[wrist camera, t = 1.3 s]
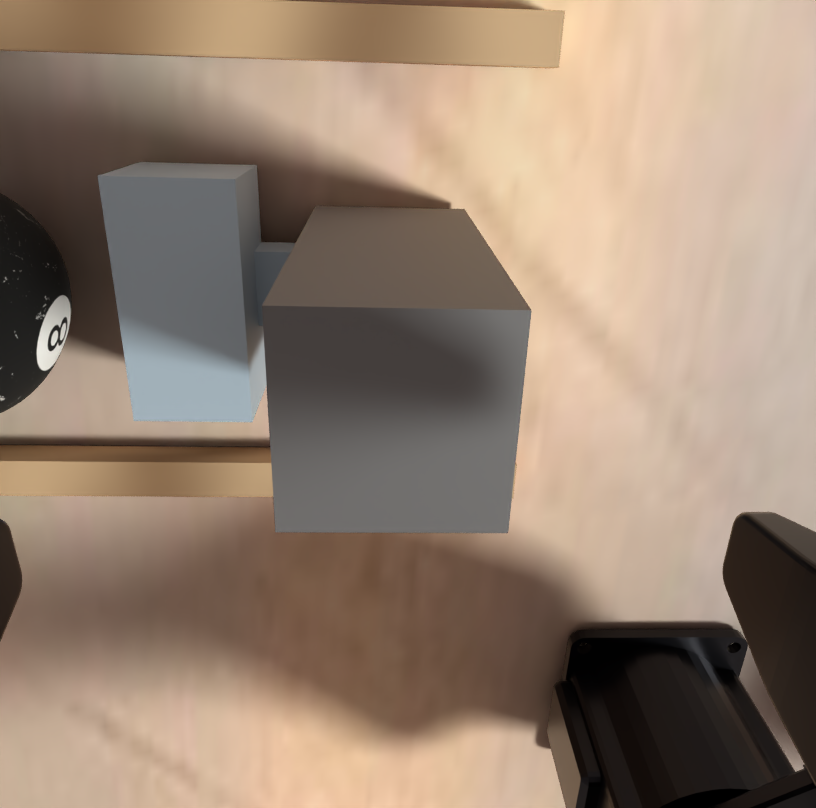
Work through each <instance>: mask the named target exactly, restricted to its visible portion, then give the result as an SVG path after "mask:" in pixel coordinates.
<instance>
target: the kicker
mask: <svg viewBox="0 0 816 808" xmlns="http://www.w3.org/2000/svg"><path fill="white" fill-rule="evenodd" d="M98 182H99V189H100V196H101V203H102V209H103V216H104V223H105V230H106V236H107V243H108V250H109V257H110V263H111V270H112V277H113V283H114V290H115V297H116V304H117V310H118V317H119V324H120V331H121V337H122V344H123V351H124V357H125V364H126V371H127V378H128V384H129V391H130V398H131V405H132V411H133V418H134V421H190V422H253V419H254V416H255V414H256V411H257V409H258V406H259V403H260V401H261V398H262V395H263V393H264V390H265V388H266V385H267V399H268V416H269V433H270V449H271V466H272V483H273V499H274V516H275V532H334V533H508V528H509V519H510V509H511V500H512V490H513V481H514V471H515V461H516V452H517V442H518V433H519V423H520V414H521V404H522V395H523V385H524V376H525V366H526V357H527V347H528V338H529V328H530V319H531V309H530V308H529V306H528V304H527V303H526V301H525V300H524V298H523V297H522V295H521V294H520V292H519V291H518V289H517V288H516V286H515V285H514V283H513V282H512V280H511V279H510V277H509V276H508V274H507V273H506V271H505V270H504V268H503V267H502V265H501V264H500V262H499V261H498V259H497V258H496V256H495V255H494V253H493V252H492V250H491V249H490V247H489V246H488V244H487V243H486V241H485V240H484V238H483V237H482V235H481V234H480V232H479V230H478V229H477V227H476V226H475V224H474V223H473V221H472V220H471V218H470V217H469V215H468V214H467V212H466V211H465V209H435V208H393V207H350V206H315V208H314V210H313V212H312V213H311V215H310V217H309V219H308V221H307V223H306V225H305V226H304V228H303V230H302V232H301V234H300V236H299V238H298V239H297V241H296V243H283V242H261V227H260V210H259V193H258V175H257V165H239V164H201V163H162V162H138V163H135V164H132V165H129V166H126V167H123V168H120V169H117V170H114V171H111V172H108V173H104V174H101V175H98Z"/></svg>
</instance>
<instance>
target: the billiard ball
mask: <svg viewBox="0 0 816 808" xmlns="http://www.w3.org/2000/svg"><path fill="white" fill-rule="evenodd" d="M71 308H72V305H71V290H70V283H69V278H68V274H67V271H66V268H65V265H64V262H63V260H62V257H61V255H60V253H59V251H58V249H57V247H56V245H55V244H54V242H53V240H52V239H51V237H50V236H49V235H48V233H47V232H46V231H45V230H44V228H43V227H42V226H41V225H40V224H39V223H38V222H37V221H36V220H35V218H34V217H32V216H31V215H30V214H29V213H28V212H27V211H26V210H24V209H23V208H22V207H21V206H19V205H18V204H17V203H15V202H14V201H12V200H10V199H9V198H7V197H6V196H4V195H3V194H1V193H0V413H1V412H4V411H6V410H8V409H9V408H11V407H13V406H15V405H16V404H18V403H19V402H21V401H22V400H23V399H25V398H26V397H27V396H29V395H30V394H31V393H32V392H33V391H34V390H35V389H36V388H37V387H38V386H39V385H40V384H41V383H42V382H43V381H44V379H45V378H46V377H47V375H48V374H49V372H50V371H51V370H52V368H53V367H54V365H55V363H56V361H57V360H58V358H59V356H60V353H61V351H62V349H63V346H64V344H65V341H66V338H67V334H68V330H69V325H70V319H71Z"/></svg>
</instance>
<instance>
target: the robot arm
mask: <svg viewBox="0 0 816 808" xmlns="http://www.w3.org/2000/svg"><path fill="white" fill-rule="evenodd" d="M723 580H724V584H725V587H726V590H727V592H728V595H729V597H730V600H731V602H732V605H733V608H734V610H735V613H736V615H737V618H738V620H739V623H740V625H741V628H742V630H743V633H744V635H745V638H746V640H747V642H746V640H745V638H744V637H743V635H742V634H741V632H739V631H738V630H733V629H678V630H578V631H576V632H574V633H573V634H572V635H571V636H570V637H569V639H568V643H567V650H566V656H565V662H564V668H563V675H562V680H559V681H558V682H557V683H556V684H555V685H554V688H553V694H552V701H551V707H550V714H549V720H548V727H547V735H548V739H549V743H550V747H551V751H552V755H553V759H554V762H555V766H556V770H557V774H558V778H559V782H560V786H561V790H562V794H563V798H564V802H565V805H566V808H816V532H814V531H812V530H810V529H808V528H806V527H804V526H802V525H799V524H797V523H795V522H793V521H791V520H789V519H787V518H785V517H782V516H780V515H778V514H776V513H772V512H744V513H741V514H740V515H738V516H737V517H736V519H735V521H734V523H733V527H732V531H731V535H730V539H729V543H728V547H727V551H726V555H725V559H724V563H723ZM21 587H22V573H21V568H20V565H19V561H18V557H17V553H16V550H15V546H14V542H13V538H12V535H11V531H10V528H9V526H8V525H7V523H6V522H5V521H3V520H1V519H0V641H1V639H2V636H3V634H4V631H5V629H6V627H7V624H8V622H9V619H10V617H11V614H12V612H13V610H14V607H15V605H16V602H17V600H18V597H19V595H20V591H21ZM582 643H587V644H585V645H582V646H579V645H580V644H582ZM731 643H733V644H731ZM730 644H731V645H730ZM748 645H749V648H750V650H751V653H752V656H753V658H754V661H755V663H756V666H757V668H758V671H759V673H760V676H761V678H762V680H763V683H764V685H765V687H766V690H767V692H768V694H769V696H770V698H771V700H772V702H773V704H774V706H775V708H776V710H777V712H778V714H779V716H780V718H781V720H782V722H783V724H784V726H785V728H786V729H787V731H788V733H789V735H790V737H791V739H792V741H793V743H794V745H795V747H796V749H797V750H798V752H799V754H800V756H801V758H802V760H803V762H804V764H805V765H803V767H804V769H802V770H799V771H797V772H795V770H794V769H793V767H792V765H791V764H790V762H789V760H788V759H787V757H786V755H785V754H784V752H783V750H782V749H781V747H780V745H779V744H778V742H777V740H776V739H775V737H774V736H773V734H772V732H771V731H770V729H769V727H768V726H767V724H766V722H765V721H764V719H763V717H762V716H761V714H760V712H759V711H758V709H757V707H756V706H755V704H754V702H753V701H752V699H751V697H750V696H749V694H748V692H747V691H746V689H745V687H744V686H743V684H742V682H741V681H740V679H739V675H740V671H741V668H742V665H743V661H744V658H745V655H746V651H747V648H748Z"/></svg>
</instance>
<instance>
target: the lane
mask: <svg viewBox="0 0 816 808" xmlns="http://www.w3.org/2000/svg"><path fill="white" fill-rule="evenodd" d="M564 14H565V11H559V10H531V9H503V8H476V7H448V6H420V5H393V4H365V3H337V2H310V1H282V0H0V50H3V51H34V52H65V53H96V54H126V55H157V56H188V57H219V58H250V59H280V60H311V61H342V62H373V63H403V64H434V65H465V66H496V67H526V68H558V67H559V61H560V52H561V42H562V33H563V23H564ZM516 467H517V465H516V462H515V471H514V481H513V490H512V498H513V495H514V485H515V476H516ZM0 496H173V497H273V483H272V466H271V449H270V447H160V446H45V445H0Z"/></svg>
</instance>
